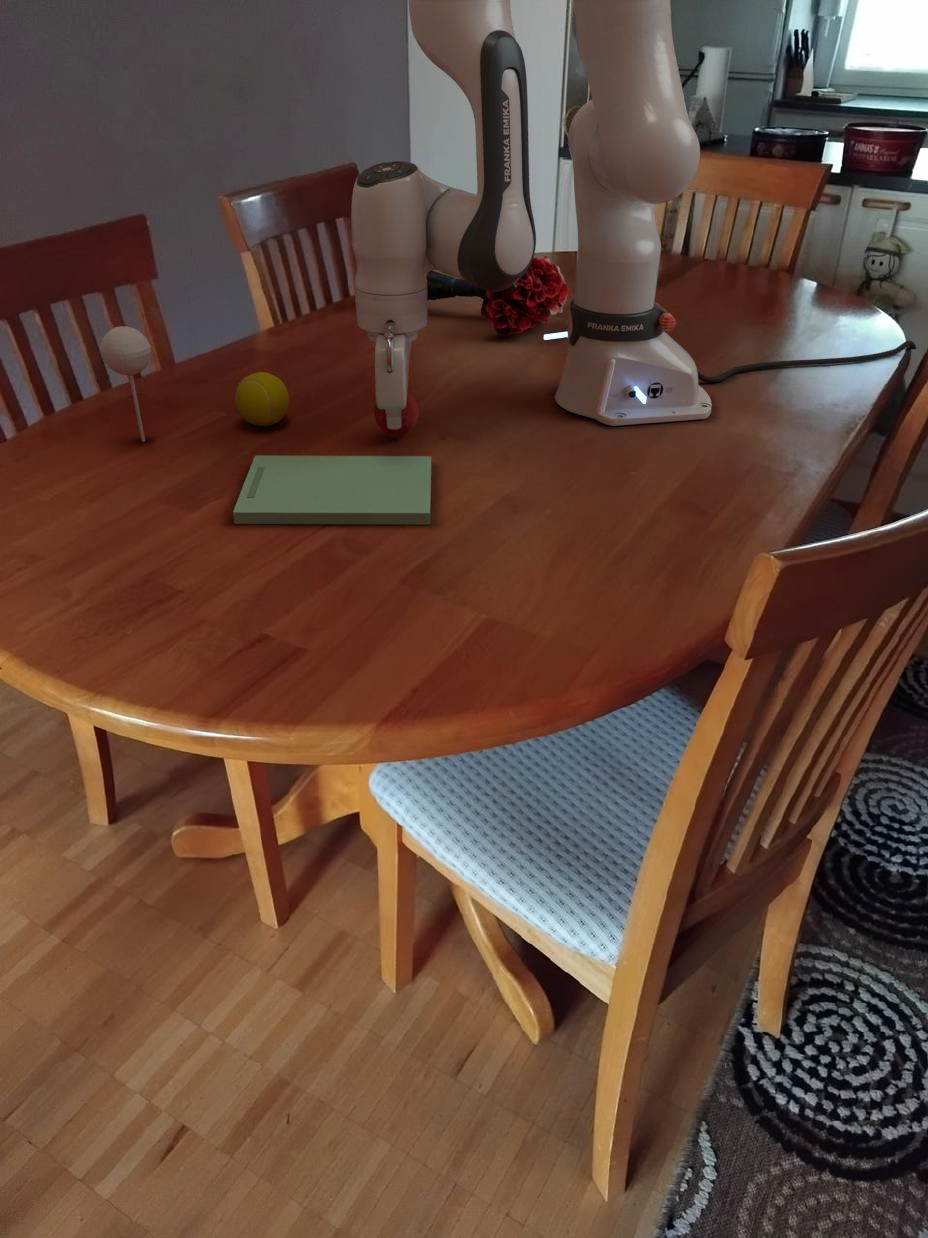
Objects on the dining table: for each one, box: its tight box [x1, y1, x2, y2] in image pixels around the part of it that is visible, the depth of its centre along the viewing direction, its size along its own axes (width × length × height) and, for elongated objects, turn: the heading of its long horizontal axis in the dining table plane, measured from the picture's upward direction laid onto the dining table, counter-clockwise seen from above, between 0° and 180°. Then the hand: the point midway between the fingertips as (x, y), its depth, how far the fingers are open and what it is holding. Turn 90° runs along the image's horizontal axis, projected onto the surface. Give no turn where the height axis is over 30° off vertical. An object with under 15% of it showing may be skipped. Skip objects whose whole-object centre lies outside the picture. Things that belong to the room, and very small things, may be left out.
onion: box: [373, 390, 420, 440], centre depth 123 cm, size 6×6×8 cm
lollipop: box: [99, 325, 152, 443], centre depth 119 cm, size 6×6×15 cm
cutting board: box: [232, 454, 432, 526], centre depth 111 cm, size 22×15×2 cm
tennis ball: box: [234, 371, 290, 427], centre depth 127 cm, size 7×7×7 cm
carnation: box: [427, 255, 570, 338], centre depth 164 cm, size 16×18×35 cm
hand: (395, 415), depth 123 cm, fingers closed on onion, 6 cm apart
